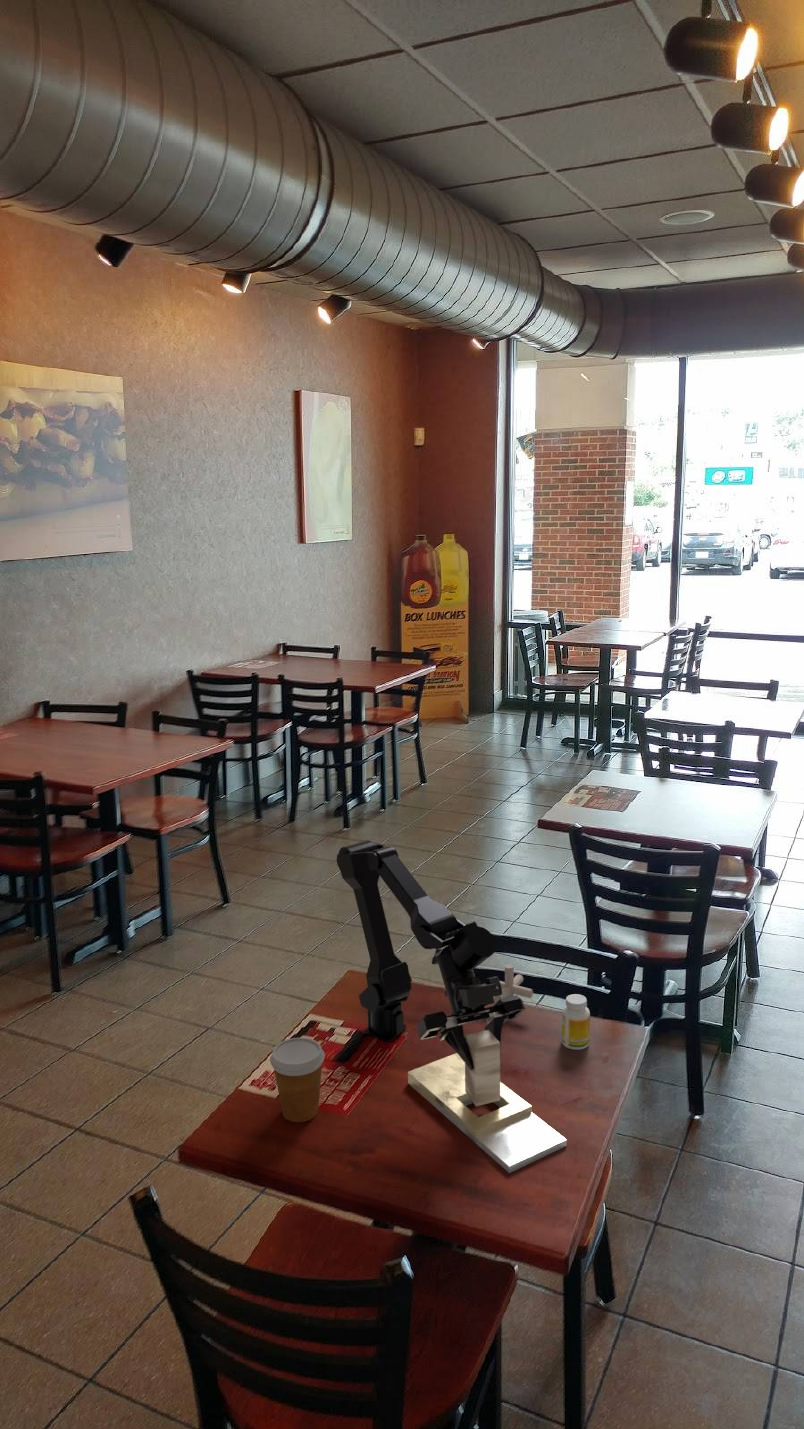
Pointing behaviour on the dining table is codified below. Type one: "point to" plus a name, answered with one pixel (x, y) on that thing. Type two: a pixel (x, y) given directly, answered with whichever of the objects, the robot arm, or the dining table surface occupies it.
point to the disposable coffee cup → (298, 1077)
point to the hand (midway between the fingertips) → (485, 1066)
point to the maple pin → (483, 1068)
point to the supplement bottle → (575, 1022)
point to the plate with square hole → (487, 1115)
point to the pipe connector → (513, 985)
